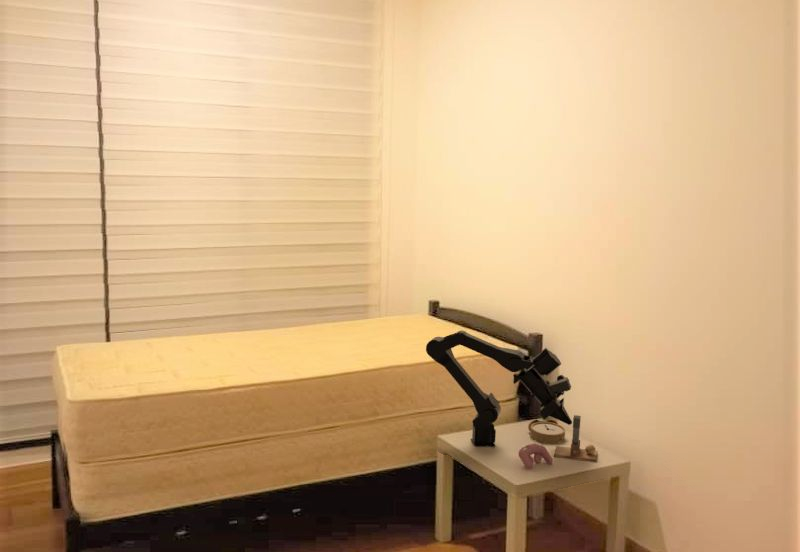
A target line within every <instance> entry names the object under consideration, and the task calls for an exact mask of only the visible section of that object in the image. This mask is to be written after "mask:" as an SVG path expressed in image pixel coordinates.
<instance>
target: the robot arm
mask: <svg viewBox="0 0 800 552" xmlns="http://www.w3.org/2000/svg"><path fill="white" fill-rule="evenodd" d="M458 346H463V347H464V348H467V349H469V350H471V351H474V352H477V353H478V354H480V355H483V356H485V357H488V358H489V359H492V360H494V361H495V362H497V363H498V364H499V365H500V366H501V367H503V368H504V369H506V370H508V371H509V372H511V373H513V384H517V383H518V382H519V381H520V382H521V383H522V384H523V385H524V387H525V388H526V389H527V390H528V391H529V392H530V396H531V397H532V398H535V399H536V400H537V402H539V403H540V405H539V406H540V407H541V408H540V410H539V416H540V417H541V418H543V420H546V419H547V418H549V417H551V418H554V420H555V419H556V420H558V421H560V422H563V423H565V425H568V426H571V425H573V420H572V419H571V417H570V415H569V413H568V412H567V410H566V408H565V406H564V403H565V398H564V397H563V398H561V399H559V397H561V396H563V395H564V394H565V392H568V391H570V390H571V388H572V385H571V383H570V379H569V378H568V377H567V376H564V375H563V374H559V375H557V377H556V380H554V381H552V382H550V381H549V380H547V379H544V378H543V377H542V376H549V375H550V374H551V373H553V372H554V371H555V370H556V369H557V368H559V367H560V366H561V365H562V362H561V361H560V359H559V357H557V355H556V354H555V353H553V352H552V351H550V350H549V349H548V348H547V347H545V348H544V349H542V350H541V352H540V353H539V354H537V355H536V356H530V355H526V354H524V353H523V352H522V351H521V350H518V349H517V350H516V349H513V348H507V347H503V346H498V345H495V344H493V343H491V342H489V341H486V340H484V339H482V338H480V337H477V336H475V335H472V334H470V333H468V332H467V331H466V330H463V329H461V330H459V331H456V332H455V333H452V334H448V335H445V336H435V337H433V338H432V339H431V340H429V341H428V342H427V344H426V346H425V352H426V354H427V355H428V356H429V357H430V358H431V359H432V360H434V361H435V362H436V363H437V364H439V365H440V366H443V368H445V369H446V371H447V372H448V374H450V376H451V377H452V378H453V379H454V380H455V382H456V383H457V384H458V385H459V387H460V388H461V389H462V391H464V392H465V394H466V395H467V396H468V398H469V399H470V400H471V401H472V403H473V407H474V408H475V412H476V413H477V414H476V415H475V417H474V418H473V420H472V438H470V441H471V443H472V444H473V446H474V447H495V446H496V444H495V443H496V435H497V430H496V428H495V425H494V423H495V422H496V421H497V420H498V418H499V416H500V414H501V411H502V409H501V405H500V400H497V398H496V396H495V395H494V394H493V392H490V393H489V394H487V393H485V392H484V391H483V390H482V389H481V387H480V386H479V385H478V384H477V383H476V381H474V379H473V378H472V377H471V376H470V374H469V373H468V372H467V371H466V369H464V367H463V366H462V364H461V363H460V362H459V361H458V360H457V358H456V357H455V355H454V353H453V350H452V349H454V348H455V347H458Z"/></svg>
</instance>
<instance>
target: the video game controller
mask: <svg viewBox="0 0 800 552" xmlns="http://www.w3.org/2000/svg"><path fill="white" fill-rule="evenodd" d="M532 455H534V456H533V457H532ZM518 457H519V458H520V460H521V462H522V464H523V465H524V467H525V468H526V469H527V470H532V469H533V464H534V463H536V464H539V463H541V462H542V461H543V460H544V461H545V462H546V464H548V465H551V466H552V465H553V463H554V461H553V458H552V455H551V454H550V453H549V451H548V449H547V448H546V446H544V445H543V443H541V444H540V443H529V444H527V445H524V446H523V447H521V448H520V449H519V450H518ZM542 459H543V460H542Z"/></svg>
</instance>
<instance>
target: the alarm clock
mask: <svg viewBox="0 0 800 552" xmlns="http://www.w3.org/2000/svg"><path fill="white" fill-rule="evenodd" d="M528 431H529V436H530V438H531V439H532V440H533V441H535V440H536V441H535V442H538V441H539V443H543V442H545V444H559V442H560V443H563V442H564V441H565V436H566V429H565V427H564V426H563V425H560V424H559V423H558V422H557V421H556V420H555V419H548V420H539V419H532V420H530V421H529V423H528Z"/></svg>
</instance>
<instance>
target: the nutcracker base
mask: <svg viewBox="0 0 800 552" xmlns="http://www.w3.org/2000/svg"><path fill="white" fill-rule="evenodd" d="M572 440H573V438H572V439H571V441H572ZM580 447H581V439H579V445H577V444H572V443H571V444H570V447H568V446H562V445H561V446H559V445H556V446H555V449H554V453H553V457H554V458H559V459H570V460H578V461H583V462H585V461H586V462H594V463H596V462H597V459H598V458H597V457H598V450H596V447H595V446H594V445H593V444H587V445H586V446H585V447H584V448H585V449H584V448H580Z"/></svg>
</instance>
